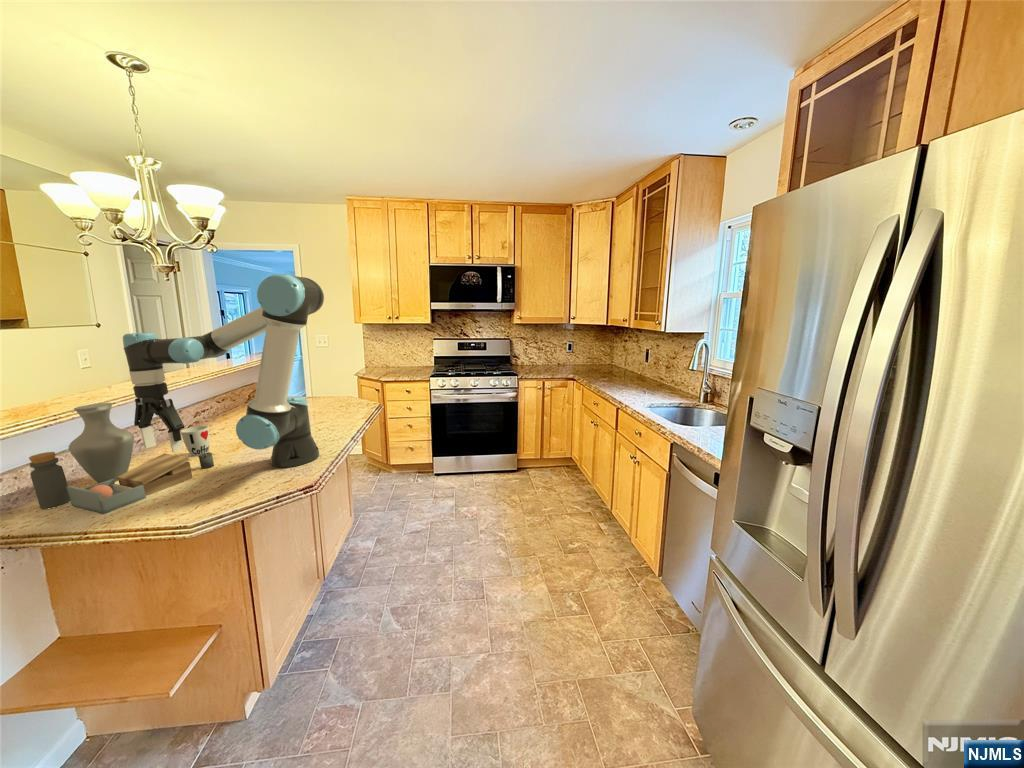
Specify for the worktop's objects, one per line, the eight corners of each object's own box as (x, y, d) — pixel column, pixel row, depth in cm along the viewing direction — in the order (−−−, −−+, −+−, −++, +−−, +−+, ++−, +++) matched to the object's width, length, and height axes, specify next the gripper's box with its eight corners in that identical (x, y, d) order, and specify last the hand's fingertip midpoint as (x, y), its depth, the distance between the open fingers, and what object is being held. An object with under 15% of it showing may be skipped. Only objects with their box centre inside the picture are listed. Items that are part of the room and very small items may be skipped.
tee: (216, 465, 134) (214, 452, 133) (205, 469, 130) (203, 456, 129) (209, 464, 135) (207, 451, 134) (198, 468, 131) (195, 455, 131)
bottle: (71, 503, 109) (57, 454, 106) (39, 511, 105) (24, 460, 102) (71, 497, 113) (58, 449, 110) (41, 505, 109) (26, 455, 106)
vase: (148, 475, 127) (131, 402, 122) (85, 493, 115) (63, 414, 110) (134, 467, 134) (118, 398, 130) (74, 483, 123) (53, 408, 118)
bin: (146, 497, 111) (141, 478, 110) (103, 514, 102) (97, 493, 101) (115, 491, 116) (110, 472, 115) (72, 506, 107) (66, 486, 106)
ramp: (193, 477, 124) (189, 456, 123) (144, 496, 112) (139, 473, 111) (169, 473, 128) (165, 453, 126) (120, 491, 116) (114, 468, 115)
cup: (189, 459, 140) (184, 433, 138) (183, 455, 145) (178, 429, 143) (216, 452, 146) (211, 427, 144) (209, 448, 151) (204, 424, 149)
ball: (121, 489, 110) (102, 483, 106) (107, 506, 107) (87, 500, 103) (111, 487, 111) (92, 480, 107) (97, 504, 108) (77, 498, 105)
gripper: (190, 382, 116) (203, 448, 120) (139, 379, 125) (153, 441, 129) (161, 387, 109) (176, 457, 114) (109, 384, 118) (125, 449, 122)
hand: (164, 448), depth 121 cm, fingers open, 13 cm apart
